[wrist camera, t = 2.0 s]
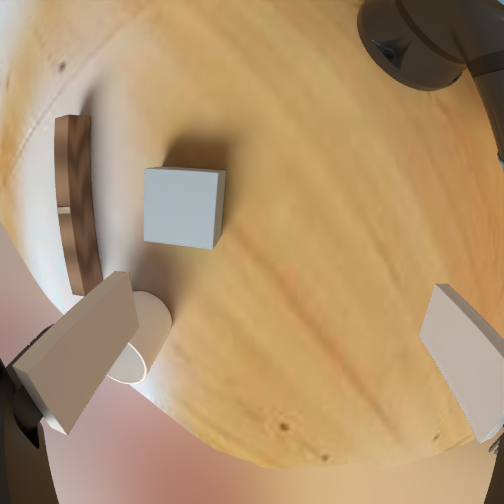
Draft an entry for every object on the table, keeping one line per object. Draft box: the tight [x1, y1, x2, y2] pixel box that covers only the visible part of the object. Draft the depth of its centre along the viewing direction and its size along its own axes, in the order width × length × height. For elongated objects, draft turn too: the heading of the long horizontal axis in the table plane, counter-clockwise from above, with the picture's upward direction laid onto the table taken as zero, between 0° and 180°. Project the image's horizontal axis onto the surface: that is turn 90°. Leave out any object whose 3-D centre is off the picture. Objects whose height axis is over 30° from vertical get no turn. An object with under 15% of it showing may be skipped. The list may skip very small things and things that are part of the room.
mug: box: [107, 291, 172, 384], centre depth 34 cm, size 9×12×11 cm
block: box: [144, 166, 226, 250], centre depth 31 cm, size 8×8×5 cm
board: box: [54, 115, 103, 296], centre depth 31 cm, size 24×2×5 cm, turn 178°
